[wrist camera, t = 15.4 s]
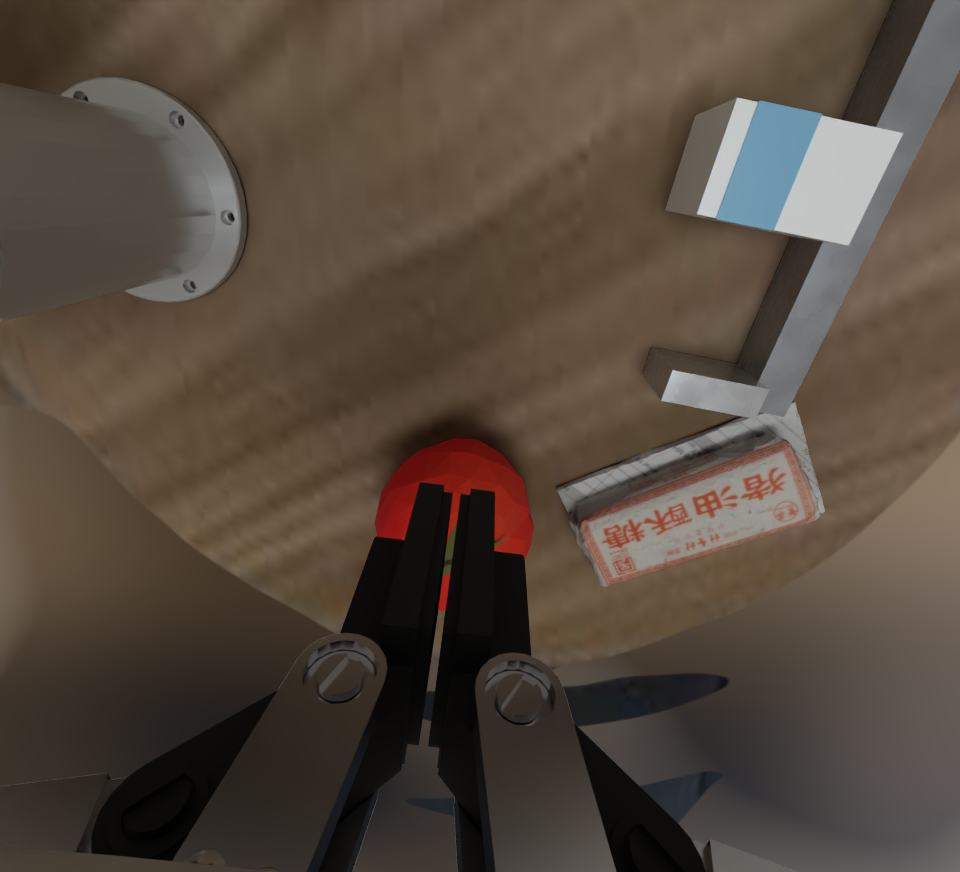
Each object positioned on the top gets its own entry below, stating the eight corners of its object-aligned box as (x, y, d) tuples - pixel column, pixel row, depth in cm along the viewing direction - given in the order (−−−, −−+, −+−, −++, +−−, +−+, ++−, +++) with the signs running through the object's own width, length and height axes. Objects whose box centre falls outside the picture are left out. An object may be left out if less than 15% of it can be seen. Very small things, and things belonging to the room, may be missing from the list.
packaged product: (608, 613, 39) (559, 517, 36) (598, 571, 44) (554, 482, 40) (853, 538, 35) (826, 420, 31) (815, 500, 39) (788, 393, 36)
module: (663, 211, 31) (696, 215, 25) (694, 114, 28) (738, 95, 23) (789, 237, 31) (849, 246, 25) (830, 143, 28) (905, 131, 23)
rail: (642, 373, 35) (661, 400, 30) (821, -140, 23) (893, -218, 19) (760, 397, 35) (796, 426, 31) (994, -100, 24) (1106, -168, 19)
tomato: (376, 526, 42) (339, 619, 33) (414, 395, 37) (381, 463, 28) (500, 563, 43) (497, 663, 34) (555, 441, 38) (568, 521, 29)
